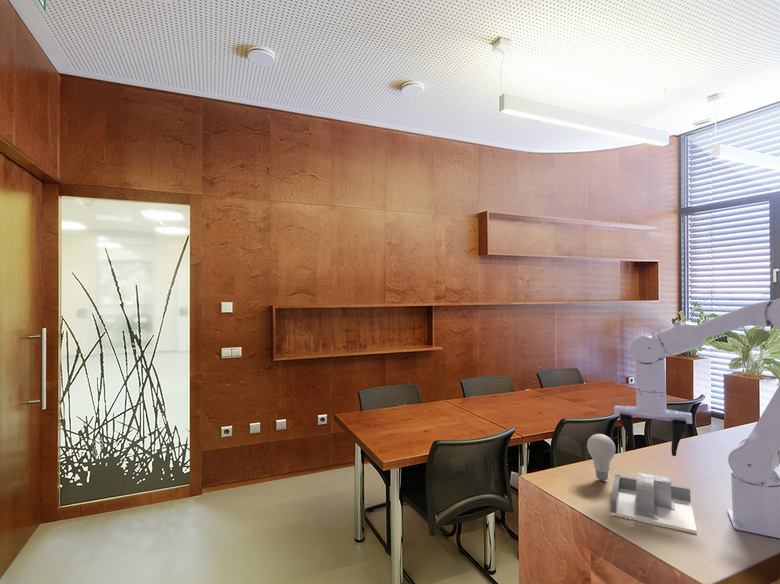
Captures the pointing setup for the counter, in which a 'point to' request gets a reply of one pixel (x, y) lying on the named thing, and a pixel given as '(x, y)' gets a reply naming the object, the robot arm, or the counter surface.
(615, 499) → the white tray
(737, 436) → the counter surface
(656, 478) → the bracket
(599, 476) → the lightbulb
